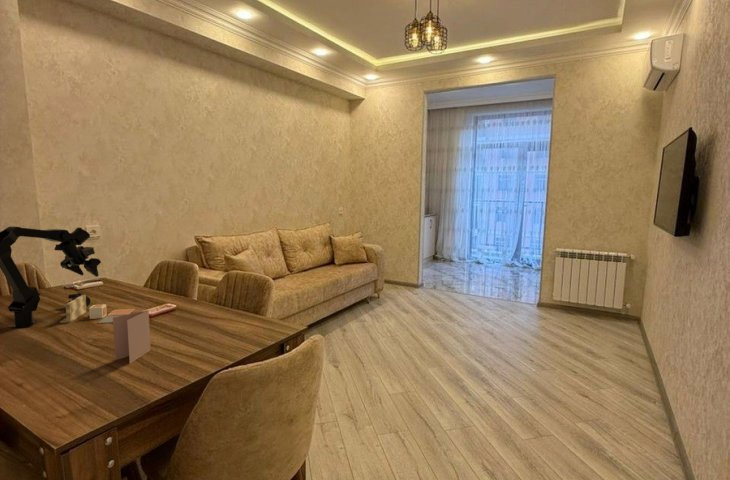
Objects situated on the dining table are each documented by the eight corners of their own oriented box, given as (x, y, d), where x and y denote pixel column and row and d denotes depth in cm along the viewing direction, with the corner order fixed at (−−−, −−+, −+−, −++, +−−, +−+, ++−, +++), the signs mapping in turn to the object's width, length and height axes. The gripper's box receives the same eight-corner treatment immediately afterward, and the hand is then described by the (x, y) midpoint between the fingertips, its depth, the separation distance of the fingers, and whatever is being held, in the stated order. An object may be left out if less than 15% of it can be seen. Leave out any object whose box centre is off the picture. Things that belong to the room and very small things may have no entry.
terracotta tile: (128, 315, 182) (128, 314, 182) (106, 316, 180) (106, 315, 180) (135, 309, 191) (134, 308, 191) (114, 310, 189) (113, 309, 189)
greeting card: (149, 349, 145) (147, 309, 143) (158, 354, 140) (156, 313, 138) (114, 359, 136) (111, 317, 134) (122, 365, 131) (120, 321, 129)
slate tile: (121, 322, 172) (121, 321, 172) (97, 323, 170) (97, 322, 170) (128, 315, 181) (128, 315, 181) (105, 317, 179) (105, 316, 179)
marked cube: (102, 318, 178) (102, 307, 177) (89, 318, 177) (89, 307, 176) (107, 314, 183) (106, 303, 182) (94, 315, 181) (93, 304, 181)
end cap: (91, 308, 192) (90, 294, 191) (73, 311, 187) (72, 297, 186) (86, 304, 198) (85, 290, 198) (68, 306, 193) (67, 293, 193)
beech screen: (70, 322, 171) (69, 304, 170) (59, 323, 170) (58, 304, 169) (86, 311, 187) (85, 294, 186) (76, 311, 186) (75, 295, 185)
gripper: (100, 241, 189) (116, 265, 199) (69, 239, 193) (87, 263, 203) (82, 257, 181) (100, 281, 190) (51, 254, 185) (70, 278, 195)
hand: (90, 275), depth 195 cm, fingers open, 9 cm apart
